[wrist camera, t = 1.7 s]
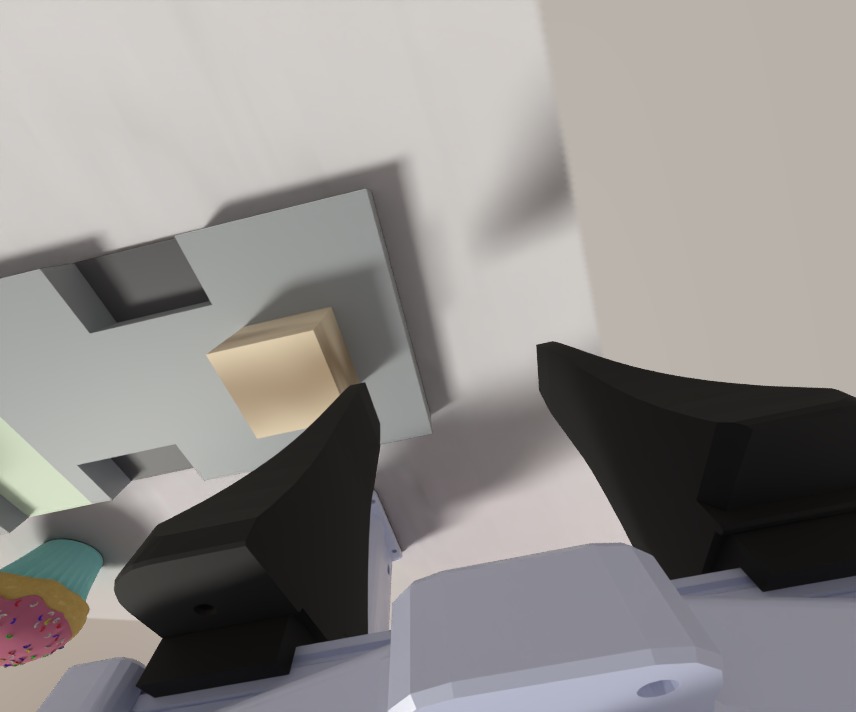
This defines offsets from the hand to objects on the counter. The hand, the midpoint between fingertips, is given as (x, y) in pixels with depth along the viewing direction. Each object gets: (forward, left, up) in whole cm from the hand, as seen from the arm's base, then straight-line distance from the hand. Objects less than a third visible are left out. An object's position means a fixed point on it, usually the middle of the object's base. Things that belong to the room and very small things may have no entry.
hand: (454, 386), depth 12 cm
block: (0, +8, -6) cm, 10 cm away
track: (0, +17, -8) cm, 19 cm away
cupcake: (-14, +36, -9) cm, 40 cm away
